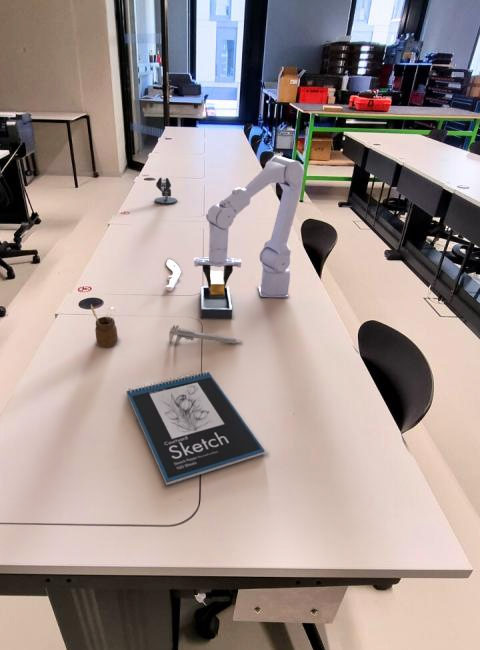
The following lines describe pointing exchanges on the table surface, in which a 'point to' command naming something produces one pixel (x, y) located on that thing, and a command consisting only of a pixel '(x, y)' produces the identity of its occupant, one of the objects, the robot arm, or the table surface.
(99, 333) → the utensil holder
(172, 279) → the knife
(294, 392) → the table surface
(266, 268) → the robot arm
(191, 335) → the caliper
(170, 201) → the dark grey upright piece
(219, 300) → the case
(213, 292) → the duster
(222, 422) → the sketchbook
